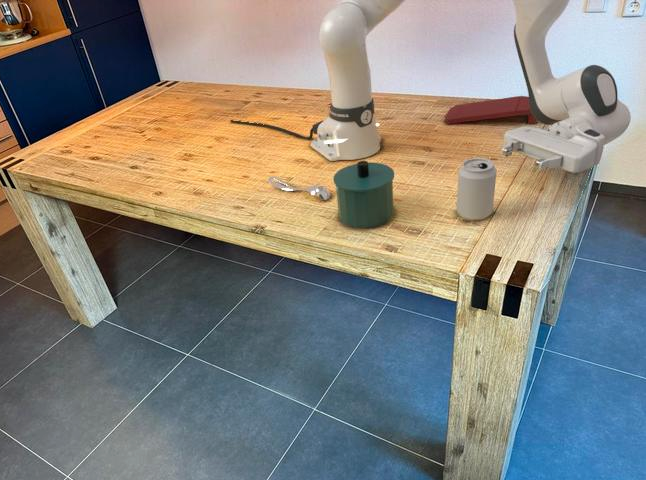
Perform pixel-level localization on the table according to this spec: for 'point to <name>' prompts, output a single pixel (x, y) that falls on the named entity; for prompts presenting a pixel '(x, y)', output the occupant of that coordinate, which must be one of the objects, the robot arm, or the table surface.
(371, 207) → the pot
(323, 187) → the silver spoon
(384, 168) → the pot lid
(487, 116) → the dark red sloped ramp
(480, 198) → the can
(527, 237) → the table surface
